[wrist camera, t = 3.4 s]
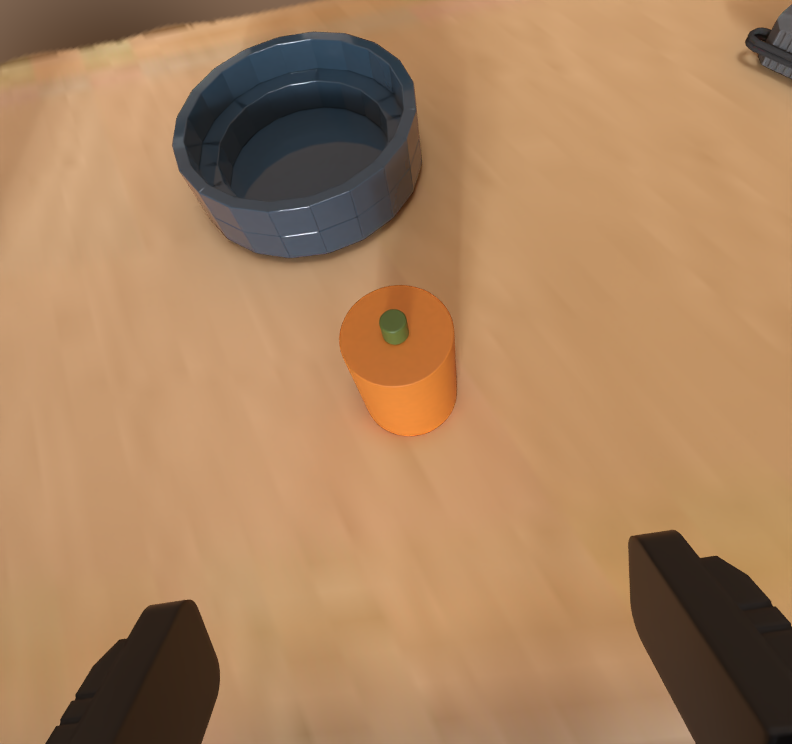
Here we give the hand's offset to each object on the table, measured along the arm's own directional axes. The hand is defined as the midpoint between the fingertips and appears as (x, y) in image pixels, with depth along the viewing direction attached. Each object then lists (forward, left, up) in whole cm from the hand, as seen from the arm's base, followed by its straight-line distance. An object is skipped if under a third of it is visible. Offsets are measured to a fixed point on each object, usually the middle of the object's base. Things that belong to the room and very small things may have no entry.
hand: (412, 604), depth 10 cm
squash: (-4, +11, -17) cm, 21 cm away
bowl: (-15, +26, -17) cm, 34 cm away
